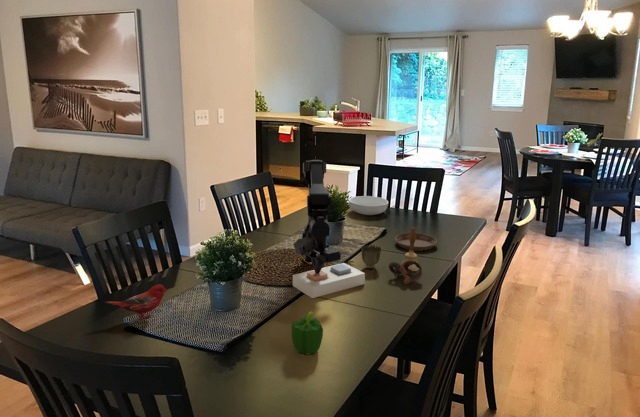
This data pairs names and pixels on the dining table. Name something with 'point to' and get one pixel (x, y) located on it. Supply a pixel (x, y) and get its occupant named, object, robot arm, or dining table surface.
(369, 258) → the cup
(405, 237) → the plant saucer
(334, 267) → the blue key
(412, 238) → the hand bell
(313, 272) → the terracotta key
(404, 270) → the pottery mug
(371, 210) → the serving bowl
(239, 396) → the dining table surface
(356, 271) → the key panel
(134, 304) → the decorative bird figurine
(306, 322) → the bell pepper
